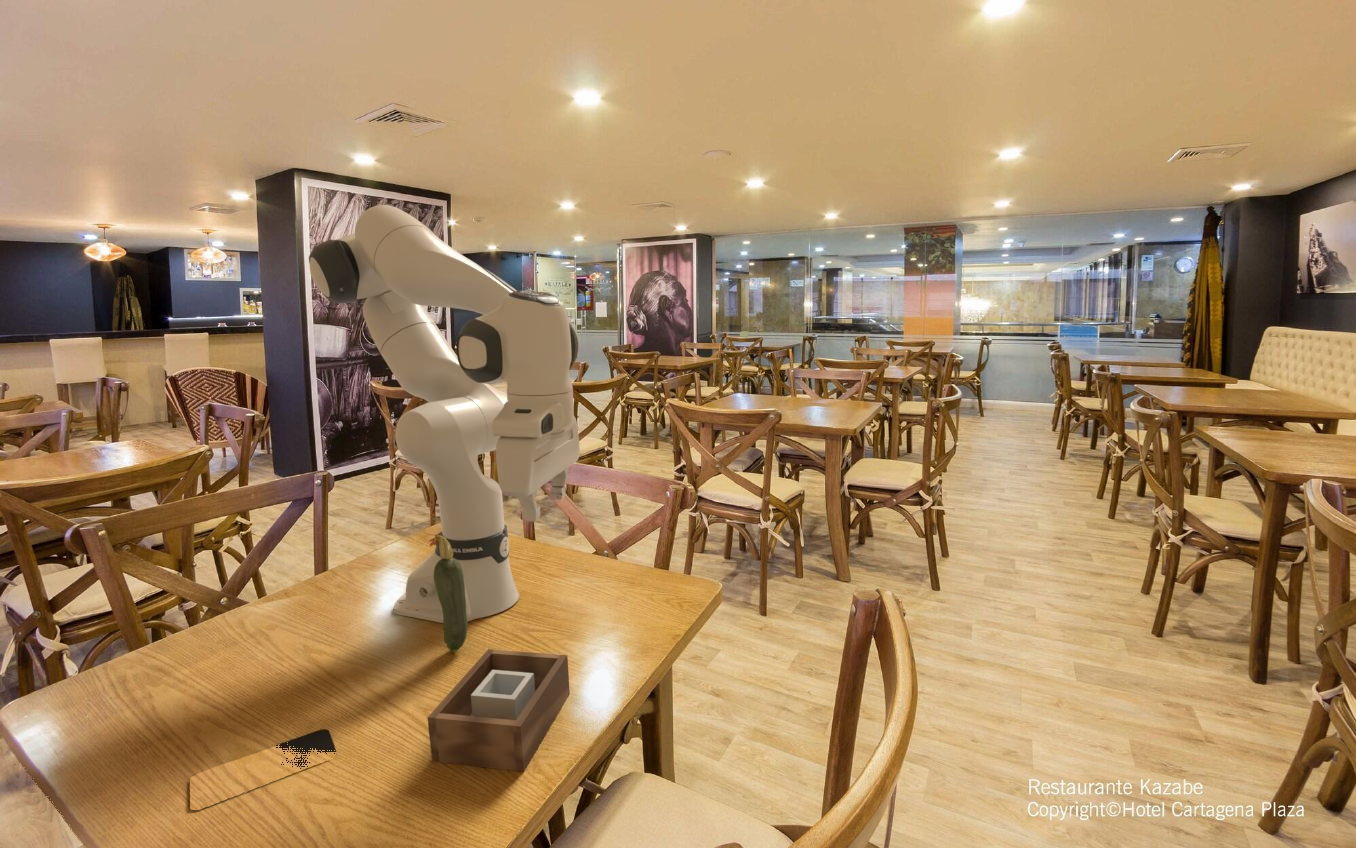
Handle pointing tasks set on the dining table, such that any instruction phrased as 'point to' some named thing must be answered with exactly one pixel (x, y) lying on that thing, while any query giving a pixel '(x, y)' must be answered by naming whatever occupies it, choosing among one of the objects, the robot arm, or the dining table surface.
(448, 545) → the vegetable
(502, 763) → the big crate
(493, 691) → the box
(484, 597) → the robot arm
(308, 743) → the smartphone
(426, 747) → the dining table surface
